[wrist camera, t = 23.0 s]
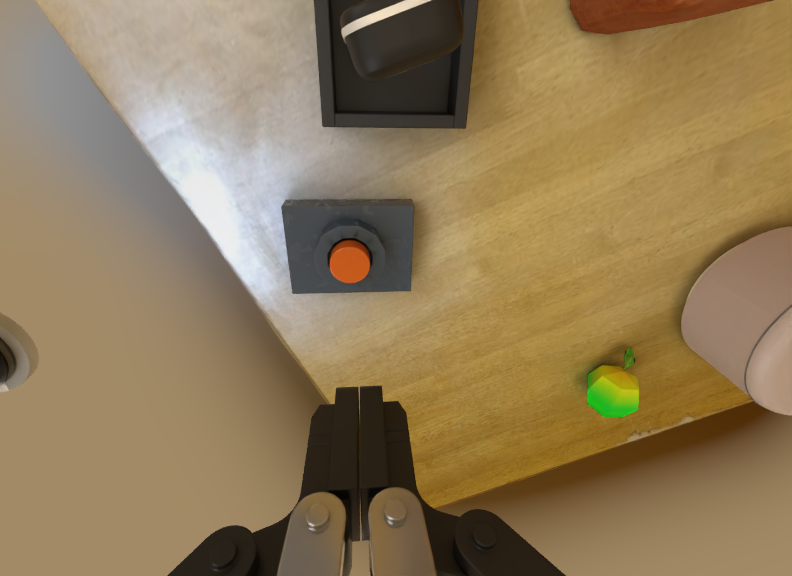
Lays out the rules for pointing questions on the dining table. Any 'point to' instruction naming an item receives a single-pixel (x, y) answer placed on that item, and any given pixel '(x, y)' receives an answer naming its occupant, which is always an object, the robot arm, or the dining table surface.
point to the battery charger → (400, 34)
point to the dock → (392, 80)
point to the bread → (646, 12)
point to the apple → (613, 389)
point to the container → (747, 318)
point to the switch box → (349, 220)
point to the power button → (350, 261)
